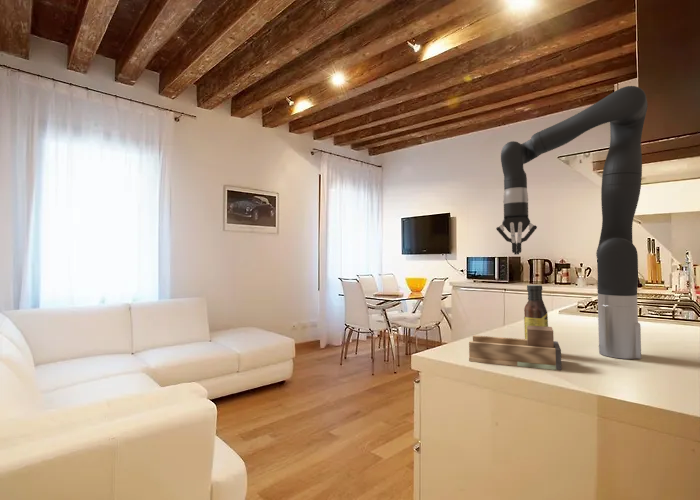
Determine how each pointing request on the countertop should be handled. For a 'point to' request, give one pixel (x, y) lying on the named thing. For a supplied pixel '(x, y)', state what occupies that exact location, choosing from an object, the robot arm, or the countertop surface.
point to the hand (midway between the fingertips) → (516, 254)
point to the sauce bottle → (535, 308)
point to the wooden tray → (514, 353)
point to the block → (540, 336)
